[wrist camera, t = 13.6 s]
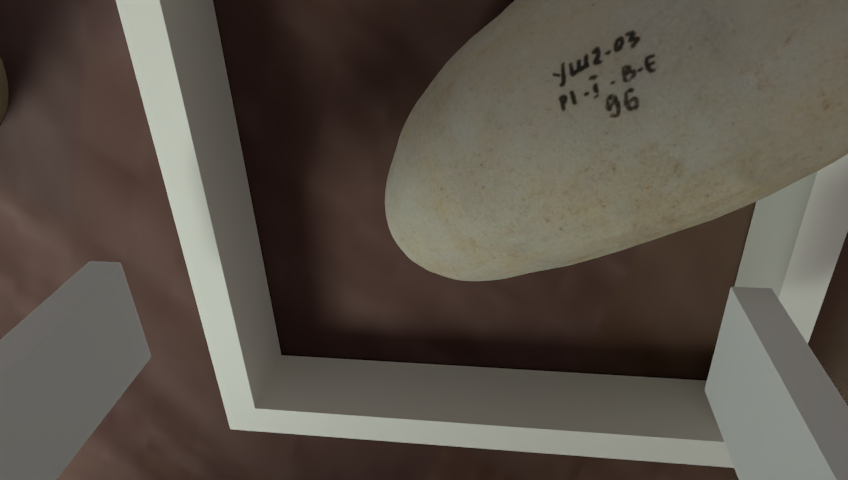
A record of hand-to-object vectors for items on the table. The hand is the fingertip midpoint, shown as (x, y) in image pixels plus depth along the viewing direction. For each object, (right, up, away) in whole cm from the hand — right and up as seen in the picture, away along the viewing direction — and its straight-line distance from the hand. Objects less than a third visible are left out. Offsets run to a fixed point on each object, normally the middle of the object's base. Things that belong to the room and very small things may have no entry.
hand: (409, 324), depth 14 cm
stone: (+1, +2, +4) cm, 5 cm away
